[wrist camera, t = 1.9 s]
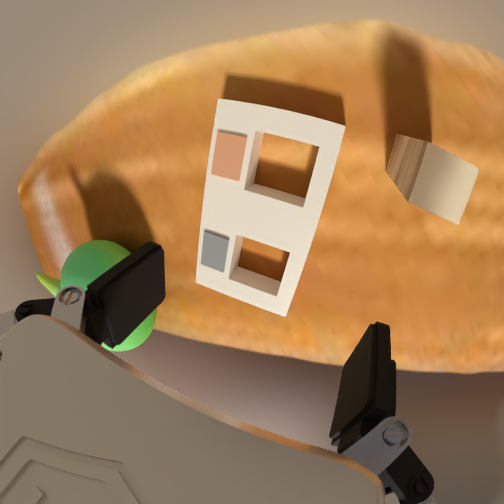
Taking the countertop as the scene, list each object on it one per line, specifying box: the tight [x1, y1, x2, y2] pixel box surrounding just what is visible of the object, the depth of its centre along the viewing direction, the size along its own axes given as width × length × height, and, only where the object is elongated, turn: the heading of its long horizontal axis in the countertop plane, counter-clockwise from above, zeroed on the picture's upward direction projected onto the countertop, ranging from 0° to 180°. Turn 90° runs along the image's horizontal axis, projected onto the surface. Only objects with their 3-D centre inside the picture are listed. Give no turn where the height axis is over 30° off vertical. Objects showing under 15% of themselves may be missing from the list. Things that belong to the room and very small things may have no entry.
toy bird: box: [37, 240, 156, 351], centre depth 37 cm, size 18×17×15 cm
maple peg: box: [386, 134, 479, 225], centre depth 17 cm, size 4×4×11 cm
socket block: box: [196, 99, 346, 317], centre depth 28 cm, size 12×22×3 cm, turn 169°
